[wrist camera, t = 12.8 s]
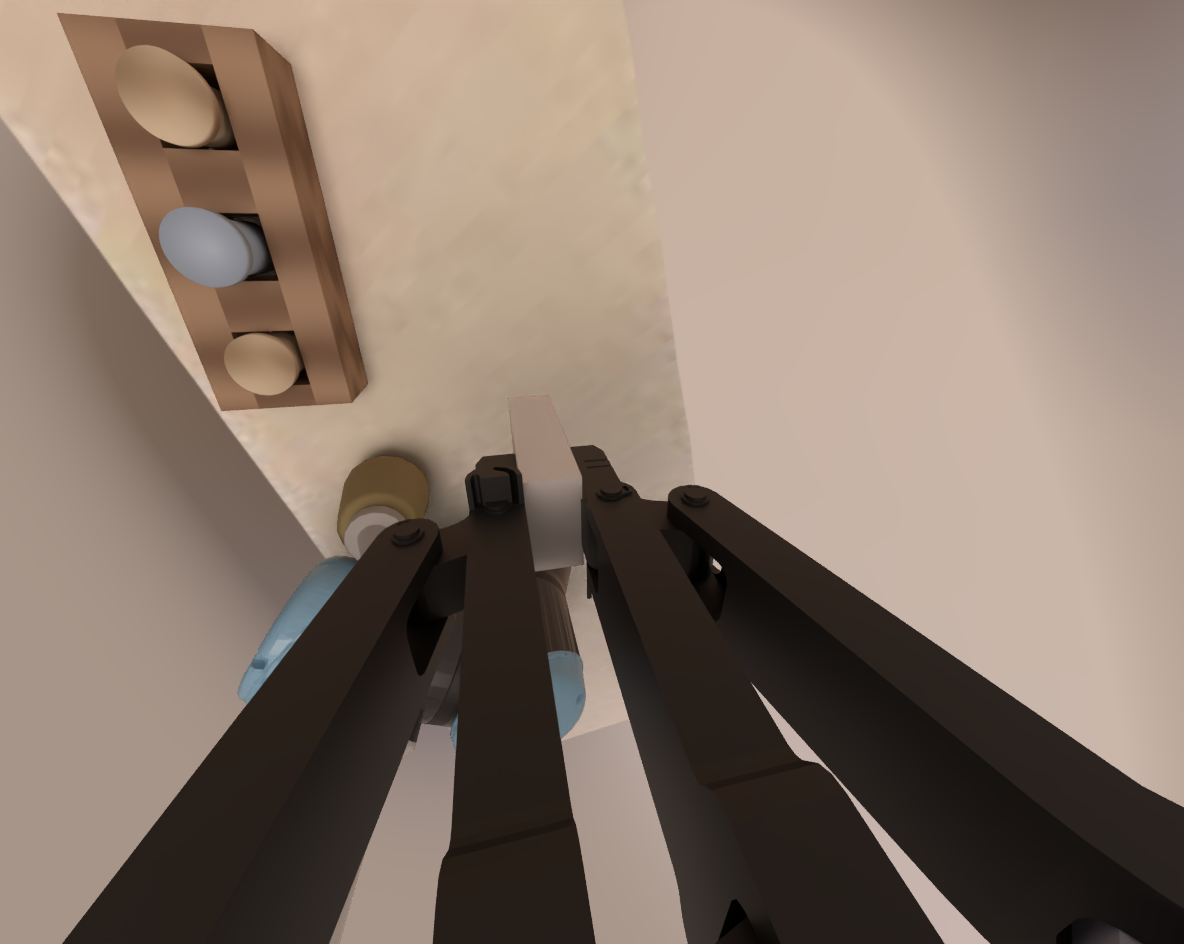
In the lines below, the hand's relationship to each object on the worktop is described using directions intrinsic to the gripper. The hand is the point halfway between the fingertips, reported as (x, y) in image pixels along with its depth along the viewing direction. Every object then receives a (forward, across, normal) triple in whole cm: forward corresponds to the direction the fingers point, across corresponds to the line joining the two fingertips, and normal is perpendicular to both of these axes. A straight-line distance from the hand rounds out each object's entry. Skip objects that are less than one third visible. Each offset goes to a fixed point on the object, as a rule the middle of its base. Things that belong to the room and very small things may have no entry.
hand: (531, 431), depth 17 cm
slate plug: (+27, +19, -6) cm, 34 cm away
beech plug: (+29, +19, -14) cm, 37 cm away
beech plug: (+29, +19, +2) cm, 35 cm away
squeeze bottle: (+30, +14, +17) cm, 37 cm away
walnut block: (+30, +19, -6) cm, 36 cm away
